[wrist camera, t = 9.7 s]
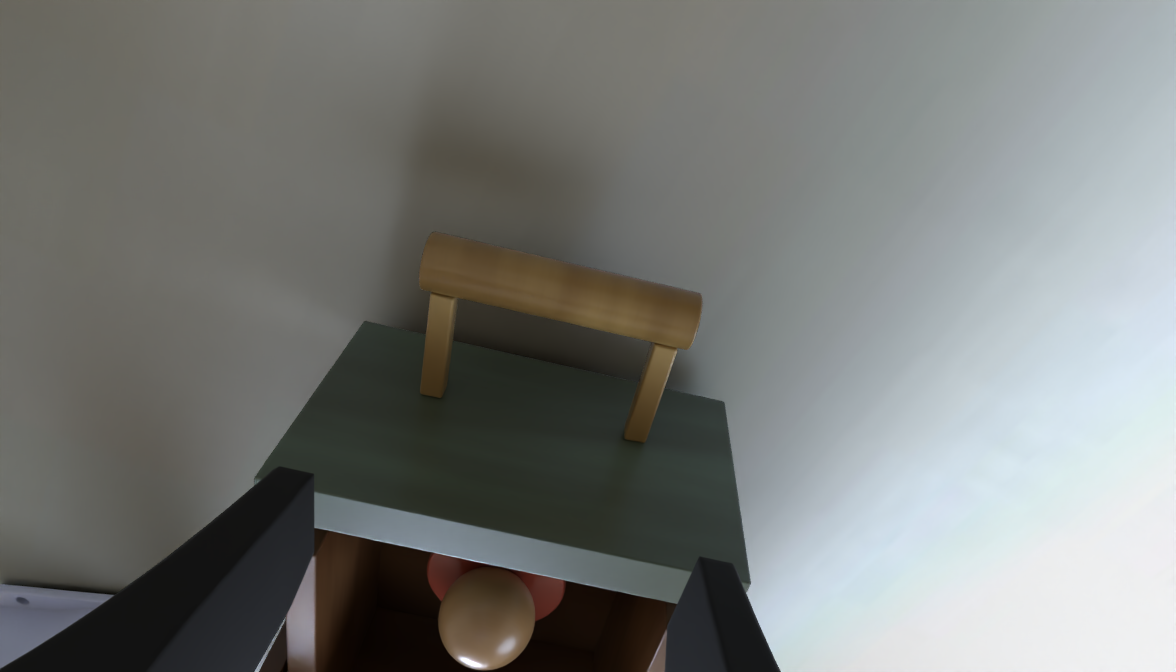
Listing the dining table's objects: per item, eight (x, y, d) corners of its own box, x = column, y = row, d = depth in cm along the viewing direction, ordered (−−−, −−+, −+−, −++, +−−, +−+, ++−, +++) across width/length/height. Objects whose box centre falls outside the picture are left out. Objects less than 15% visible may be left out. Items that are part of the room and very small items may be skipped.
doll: (457, 537, 23) (407, 697, 19) (449, 448, 21) (390, 604, 16) (574, 548, 23) (553, 713, 18) (577, 459, 21) (556, 620, 16)
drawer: (370, 175, 18) (240, 297, 12) (778, 271, 18) (834, 431, 13) (352, 590, 27) (273, 768, 21) (623, 646, 27) (615, 834, 22)
